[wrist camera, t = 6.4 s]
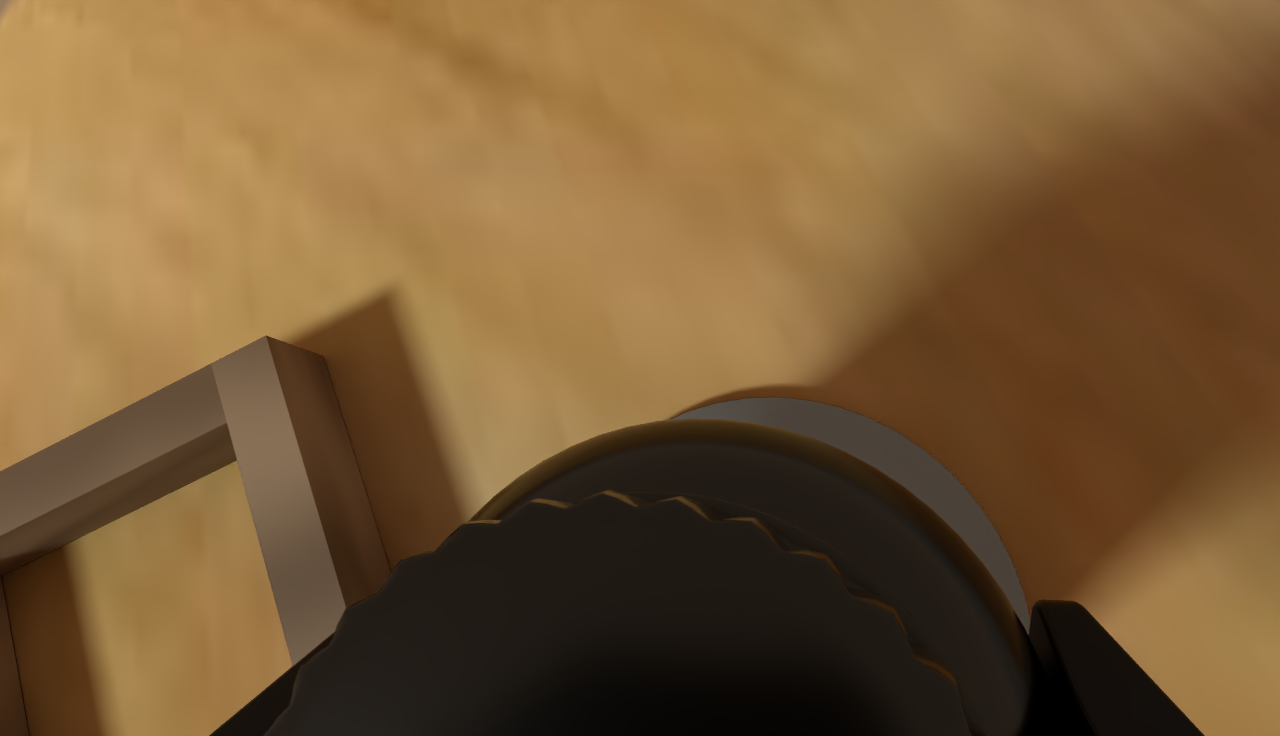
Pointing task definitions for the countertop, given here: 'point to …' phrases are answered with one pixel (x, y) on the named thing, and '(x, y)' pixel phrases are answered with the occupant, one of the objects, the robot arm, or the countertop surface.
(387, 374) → the countertop surface
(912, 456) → the slate coaster
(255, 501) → the brown flat square frame
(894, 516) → the supplement bottle
